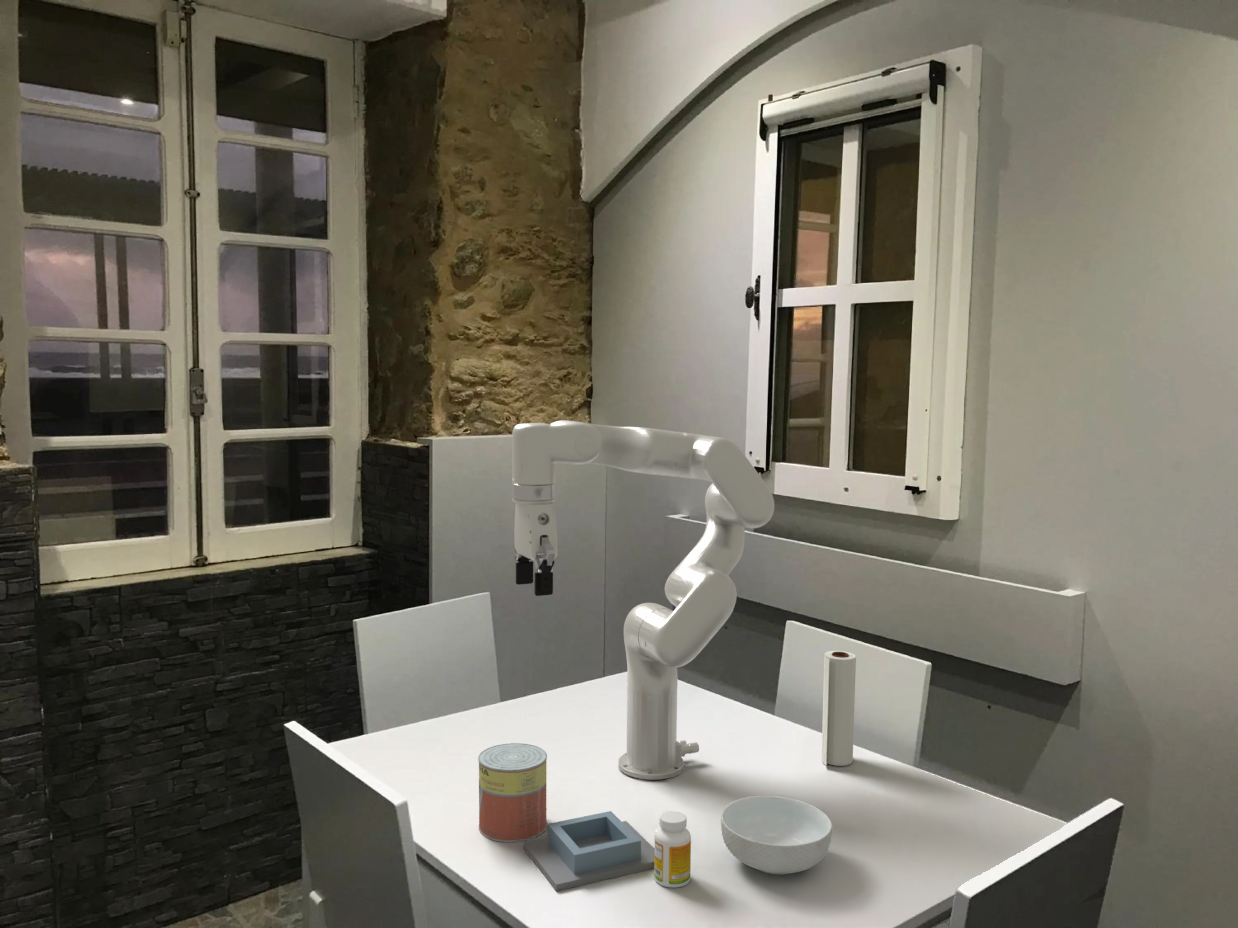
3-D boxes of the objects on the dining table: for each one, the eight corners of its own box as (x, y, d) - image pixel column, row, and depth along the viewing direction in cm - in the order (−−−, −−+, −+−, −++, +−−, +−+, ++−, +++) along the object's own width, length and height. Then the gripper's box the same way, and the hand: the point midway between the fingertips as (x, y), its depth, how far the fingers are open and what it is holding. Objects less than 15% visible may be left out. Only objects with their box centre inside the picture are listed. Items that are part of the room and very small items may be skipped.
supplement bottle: (695, 874, 146) (696, 812, 145) (682, 891, 141) (683, 827, 140) (662, 866, 148) (663, 805, 147) (648, 883, 143) (649, 820, 142)
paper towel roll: (842, 753, 193) (845, 648, 191) (858, 764, 187) (862, 656, 185) (810, 757, 191) (813, 651, 189) (826, 769, 185) (829, 660, 183)
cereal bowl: (756, 900, 139) (757, 853, 138) (701, 848, 154) (701, 805, 153) (853, 876, 145) (855, 831, 145) (791, 828, 161) (792, 787, 160)
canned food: (484, 809, 167) (484, 742, 165) (550, 811, 166) (550, 743, 165) (472, 841, 155) (472, 769, 154) (543, 842, 155) (543, 770, 154)
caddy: (625, 826, 161) (626, 803, 160) (665, 865, 148) (665, 840, 148) (523, 848, 153) (523, 823, 153) (556, 890, 141) (556, 864, 140)
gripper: (572, 498, 164) (572, 597, 165) (536, 487, 179) (536, 578, 181) (530, 500, 161) (530, 601, 162) (498, 488, 176) (498, 581, 178)
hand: (533, 589), depth 172 cm, fingers open, 9 cm apart
